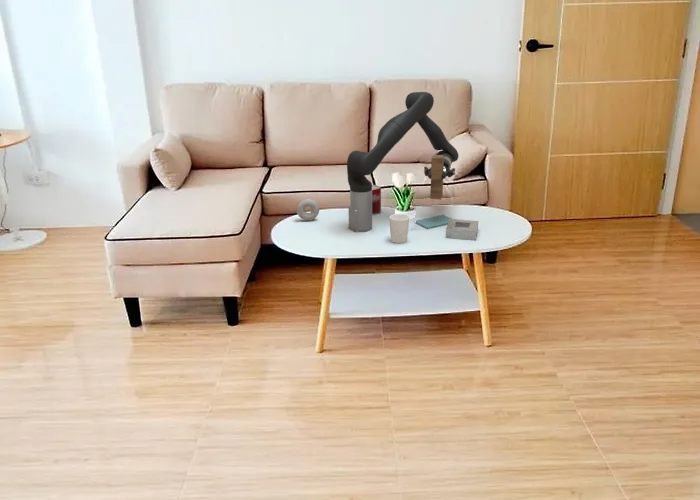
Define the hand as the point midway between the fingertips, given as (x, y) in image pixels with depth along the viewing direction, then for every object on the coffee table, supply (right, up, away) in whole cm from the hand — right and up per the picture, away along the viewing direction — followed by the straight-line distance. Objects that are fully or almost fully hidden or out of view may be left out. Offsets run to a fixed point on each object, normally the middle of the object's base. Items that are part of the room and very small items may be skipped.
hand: (436, 176), depth 262 cm
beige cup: (-16, -27, -8) cm, 32 cm away
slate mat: (+1, -19, +11) cm, 21 cm away
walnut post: (+1, -8, +6) cm, 10 cm away
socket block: (+10, -24, -3) cm, 26 cm away
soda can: (-26, -14, +24) cm, 38 cm away
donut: (-55, -18, +16) cm, 60 cm away
